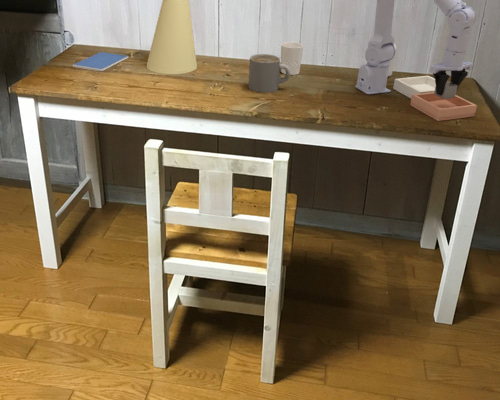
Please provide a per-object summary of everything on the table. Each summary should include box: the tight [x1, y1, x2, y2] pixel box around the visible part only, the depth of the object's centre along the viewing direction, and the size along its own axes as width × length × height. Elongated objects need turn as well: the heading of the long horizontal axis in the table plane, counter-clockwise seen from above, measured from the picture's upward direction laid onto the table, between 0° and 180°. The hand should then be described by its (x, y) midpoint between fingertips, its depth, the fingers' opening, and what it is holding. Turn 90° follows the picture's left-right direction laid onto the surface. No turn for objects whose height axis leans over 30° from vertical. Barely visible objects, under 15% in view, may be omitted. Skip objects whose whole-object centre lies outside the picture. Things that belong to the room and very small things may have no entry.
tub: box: [392, 75, 436, 99], centre depth 191 cm, size 14×14×4 cm
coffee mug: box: [248, 53, 291, 94], centre depth 187 cm, size 13×10×10 cm
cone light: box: [146, 0, 198, 75], centre depth 200 cm, size 25×18×35 cm
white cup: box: [280, 41, 304, 76], centre depth 203 cm, size 8×8×10 cm
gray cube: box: [434, 80, 459, 99], centre depth 175 cm, size 4×4×4 cm
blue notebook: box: [72, 51, 129, 72], centre depth 207 cm, size 19×13×1 cm, turn 162°
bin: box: [409, 92, 478, 122], centre depth 178 cm, size 14×14×4 cm
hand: (445, 93), depth 176 cm, fingers closed on gray cube, 4 cm apart
